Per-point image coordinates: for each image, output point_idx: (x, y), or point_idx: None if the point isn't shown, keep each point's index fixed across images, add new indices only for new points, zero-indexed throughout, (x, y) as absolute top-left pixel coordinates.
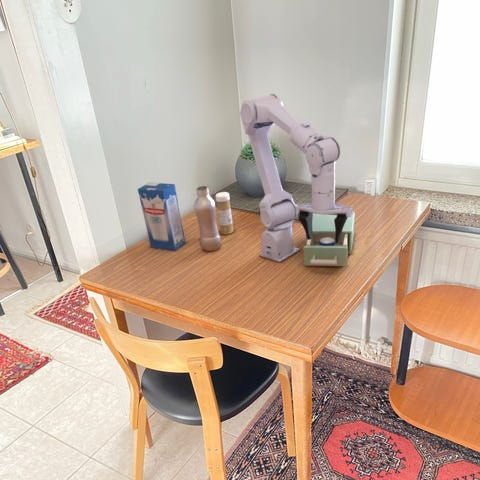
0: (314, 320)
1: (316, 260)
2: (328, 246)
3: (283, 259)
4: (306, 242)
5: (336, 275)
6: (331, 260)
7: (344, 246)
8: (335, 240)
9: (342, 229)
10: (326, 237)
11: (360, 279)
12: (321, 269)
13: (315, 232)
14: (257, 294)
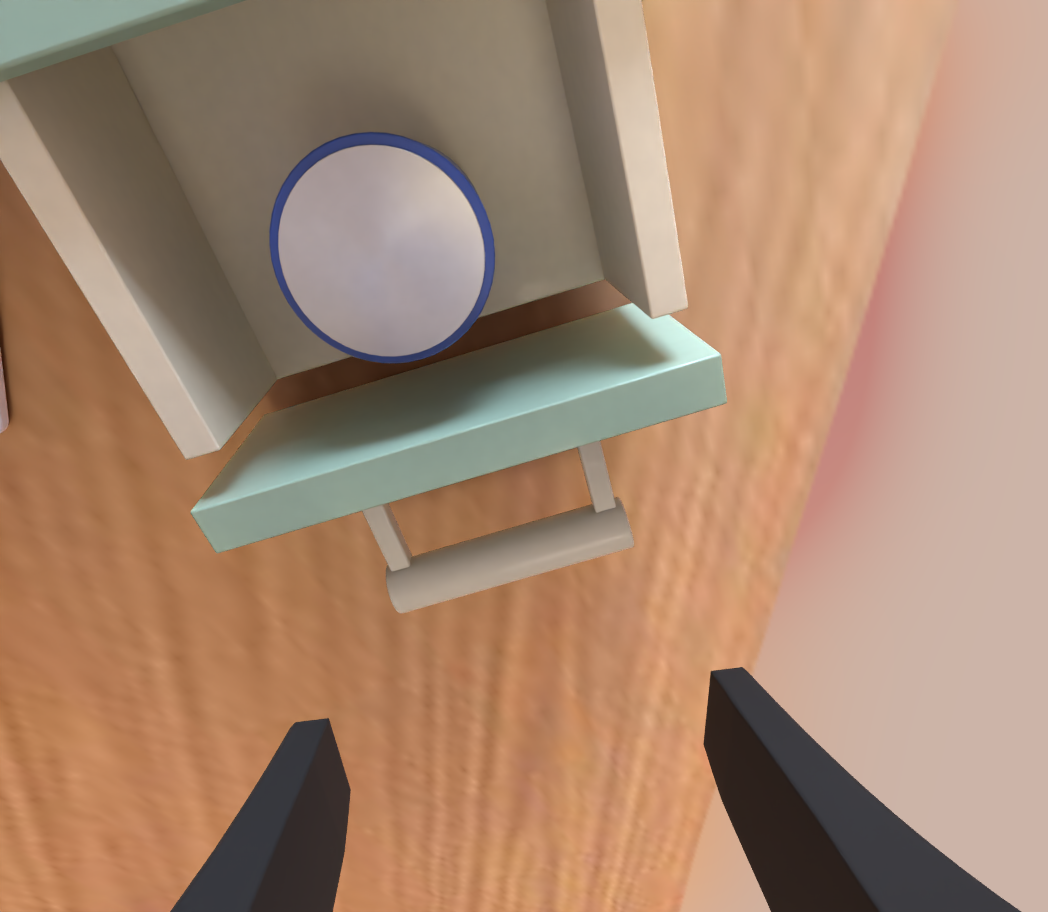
0: (627, 842)
1: (450, 597)
2: (492, 438)
3: (2, 385)
4: None
5: None
6: (585, 553)
7: (685, 378)
8: (719, 781)
9: (861, 785)
10: (328, 162)
11: (782, 448)
12: None
13: (44, 63)
14: (223, 801)
